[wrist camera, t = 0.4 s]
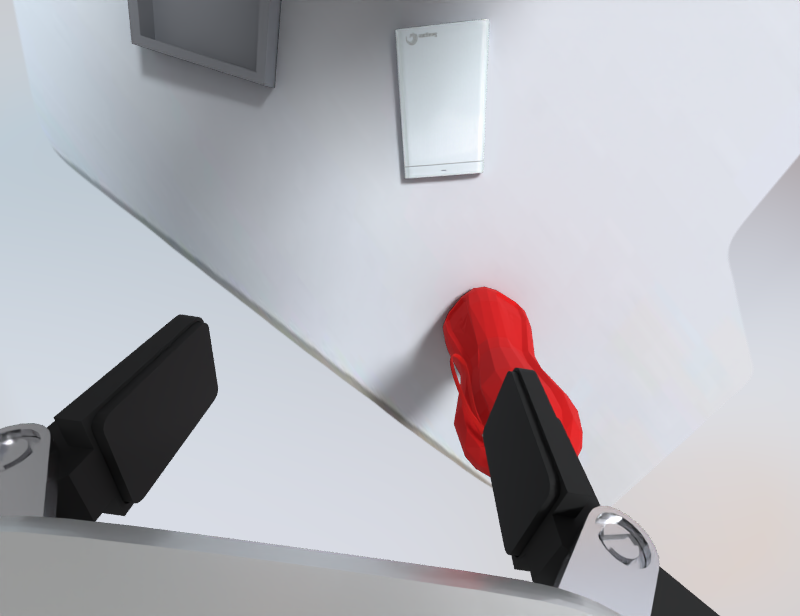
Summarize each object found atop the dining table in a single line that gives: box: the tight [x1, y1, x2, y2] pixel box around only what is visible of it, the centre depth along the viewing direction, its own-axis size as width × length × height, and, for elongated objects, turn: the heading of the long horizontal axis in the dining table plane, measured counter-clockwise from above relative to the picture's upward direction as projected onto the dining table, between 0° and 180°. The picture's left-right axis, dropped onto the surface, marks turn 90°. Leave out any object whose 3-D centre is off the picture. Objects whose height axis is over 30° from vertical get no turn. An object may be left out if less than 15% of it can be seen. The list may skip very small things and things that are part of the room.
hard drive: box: [395, 19, 490, 179], centre depth 33 cm, size 2×8×12 cm
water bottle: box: [443, 287, 583, 477], centre depth 33 cm, size 9×11×25 cm
